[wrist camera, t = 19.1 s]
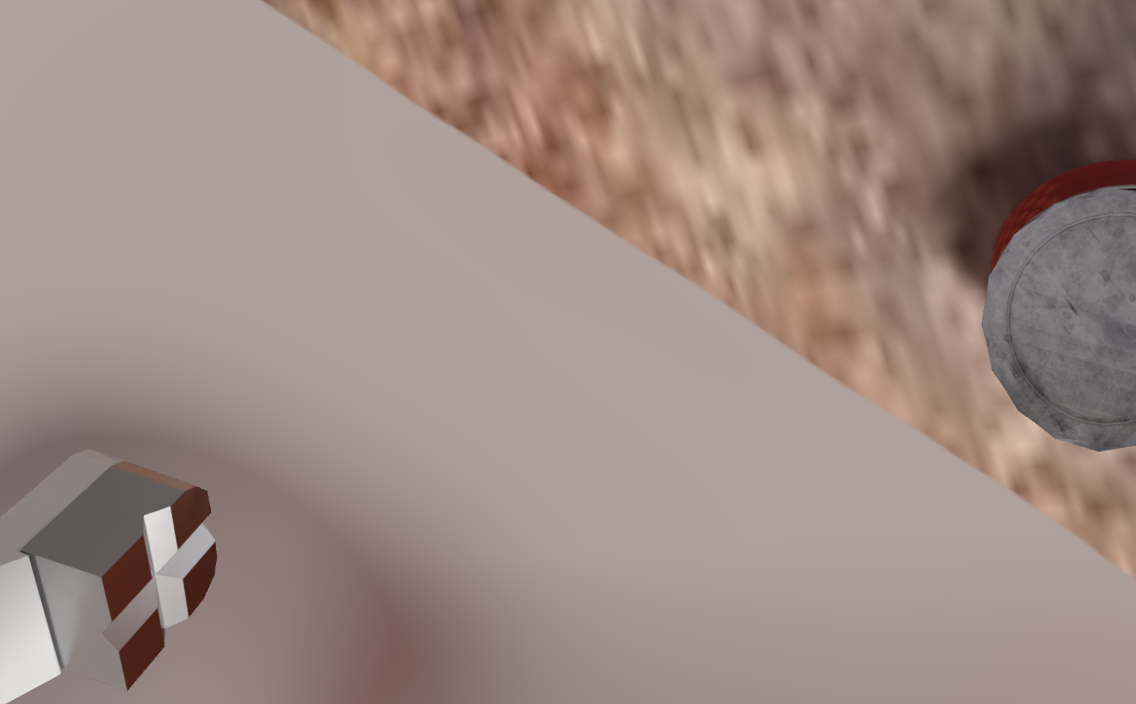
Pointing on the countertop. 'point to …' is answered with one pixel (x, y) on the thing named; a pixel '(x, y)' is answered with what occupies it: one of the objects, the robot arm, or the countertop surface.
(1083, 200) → the canned food
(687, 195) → the countertop surface
